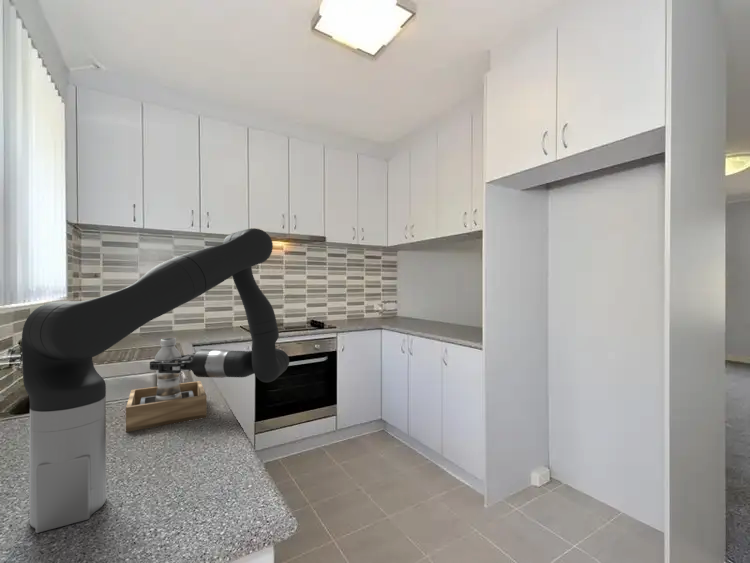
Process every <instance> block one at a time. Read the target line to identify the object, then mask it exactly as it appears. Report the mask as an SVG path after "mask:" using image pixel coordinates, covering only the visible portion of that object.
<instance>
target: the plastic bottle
mask: <svg viewBox="0 0 750 563" xmlns="http://www.w3.org/2000/svg"><path fill="white" fill-rule="evenodd" d="M159 346H160V347H161V348H160V349H159V350H158V351H157V353H156V354H155V356H154V360H153V361H171V360H172V359H174V358H181V355H182V354H181V352H180V351H179V349H178V348H177V347H176V346H177V338H176V337H167V338H166V337H165V338H161V339H160V345H159ZM175 363H178V361H175ZM155 371H156V378H157V379H156V381H157V383H156V387H157V395H156V398H155V402H160V401H167V400H174V399H180V398H182V394H181V392H180V383H181V382H180V375H181V373H158V371H159V370H155Z"/></svg>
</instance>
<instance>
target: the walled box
mask: <svg viewBox="0 0 750 563" xmlns="http://www.w3.org/2000/svg"><path fill="white" fill-rule="evenodd" d="M180 392H181V394H182V398H180V399H174V400H167V401H160V402H155V398H156V395H157V386H151V387H144V388H143V387H142V388H135V389H134V388H133V389H131V390H130V393H129V396H128V400H127V403H126V406H125V433H130V432H135V431H140V430H145V429H152V428H158V427H163V426H168V425H175V424H180V423H179V422H181V423H185V422H184V421H186V422H190V421H189V420H192V421H196V420H195V419H197V420H202V419H201V418H203V419H206V417H207V416H208V415H207V412H208V411H207V410H208V407H207V406H208V405H207V401H208V399H207V394H206V391H205V389H204V385H203V383H202V381H201V380H196V381H188V382H180ZM207 418H208V417H207ZM174 423H175V424H174Z"/></svg>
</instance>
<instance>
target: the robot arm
mask: <svg viewBox="0 0 750 563" xmlns="http://www.w3.org/2000/svg"><path fill="white" fill-rule="evenodd" d="M273 246H274V244H273V240H272V238H271V235H269V234H268V233H267V232H266V231H265V230H262V229H260V228H247V229H243V230H239V231H236V232H232V233H230V234H228V235H227V236H225V238H224V239H223V241H222V244H218V245H215V246H210V247H205V248H204V247H203V248H201V249H197V250H194V251H190V252H187V253H184V254H181V255H178V256H176V257H173V258H170V259H167V260H166V261H164V262H160V263H159V264H157V265H155V266H154V267H152V268H150V269H149V270H148V271H146V272H145V274H143V275H142V276H140V278H139V279H138V280H137V281H135V282H133V283H132V284H130V285H127V286H126V287H123V288H121V289H119V290H116V291H112V292H111V293H107V294H105V295H102V296H101V295H100V296H98V297H95V298H91V299H86V300H82V301H81V300H80V301H78V300H77V301H75V300H74V301H73V300H71V301H70V300H69V301H68V300H64V301H63V300H62V301H61V300H60V301H51V302H47V303H44V304H43V305H40V306H39V307H36V308H35V309H34V310H33V311H32V312H31V313H29V315H28V317H27V318H26V319H25V321H24V324H23V326H22V327H23V328H22V330H21V331H22V333H21V362H22V380H23V386H24V388H25V391H26V394H27V395H28V398H29V400H28V401H29V526H30V527H31V528H33V529H35V534H38V533H42V532H46V531H50V530H54V529H56V528H61V527H64V526H68V525H72V524H76V523H79V522H83V521H86V520H89V519H91V516H92V515H93V514H94V513H95V512H97V511H99V510H100V509H101V508H102V507H103V505H104V504H105V503H106V501H107V475H106V474H107V463H106V462H107V461H106V460H107V456H106V455H107V450H106V449H107V446H106V445H107V440H106V439H107V438H106V437H107V436H106V434H107V432H106V424H107V422H106V421H107V420H106V419H107V418H106V414H107V411H106V408H107V407H106V405H107V404H106V403H107V402H106V401H107V400H106V397H107V395H106V394H107V388H106V387H107V386H106V385H107V384H106V381H105V379H104V378H103V377H102V376H101V375H100V374H99V372H97V370H96V368H95V365H94V361H93V358H94V357H96V356H99V355H101V354H102V353H104V352H105V351H107V350H108V349H110V348H112V347H113V346H115V345H116V344H118V343H119V342H121V341H122V340H123V339H125V338H126V337H127V336H129V335H130V334H132V333H133V332H135V331H137V330H138V329H139V328H141V327H143V326H144V325H146V324H147V323H149V322H151V321H153V320H155V319H157V318H158V317H161V316H164V315H165V314H167V313H169V312H171V311H173V310H174V309H177V308H178V307H180V306H183V305H185V304H187V303H188V302H191V301H192V300H194V299H196V298H198V297H200V296H201V295H203V294H205V293H206V292H208V291H210V290H212V289H213V288H215V287H216V286H218V285H220V284H221V283H223V282H225V281H226V280H228V279H229V278H231V277H232V279H233V281H234V285H235V287H236V290H237V292H238V296H239V297H240V300H241V302H242V306H243V309H244V311H245V316H246V320H247V324H248V328H249V332H250V337H251V350H247V351H245V350H228V349H211V348H209V349H207V348H206V349H205V348H204V349H203V348H202V349H199V350H198V351H196V352H193V353H189V354H188V353H186V354H181V358H174V359H172V360H171V361H155V360H152V361H150V362H149V370H150V371H156V370H159V371H158V373H180V374H181V373H182V372H184V373H185V372H192V373H193V375H194V376H195V377H198V378H212V379H213V378H218V379H221V378H246V377H249V376H252V375H254V376H256V378H257V379H258V380H259V381H260V382H262V383H271V382H273V381H275V380H276V379H278V378H279V377H280V376H281V375H282V374H283V373H284V372H286V371H287V369H288V367H289V366H290V357H289V355H288V354H287V353H286V352H285V351H284V350H282V349H280V348H277V347H276V344H277V340H278V339H279V336H280V335H279V334H280V333H279V326H278V323H277V319H276V314H275V310H274V308H273V306H272V304H271V302H270V301H269V299H268V298H267V297H266V295H265V293H264V292H263V291H262V290H261V288H260V287H259V286H258V284H257V282H256V279H255V277H254V274H253V268H252V267H254V266H257V265H259V264H263V263H265V262H266V261H267V260H268V259H269V258H270V257H271V255H272V253H273ZM175 361H178V363H175Z"/></svg>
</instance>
